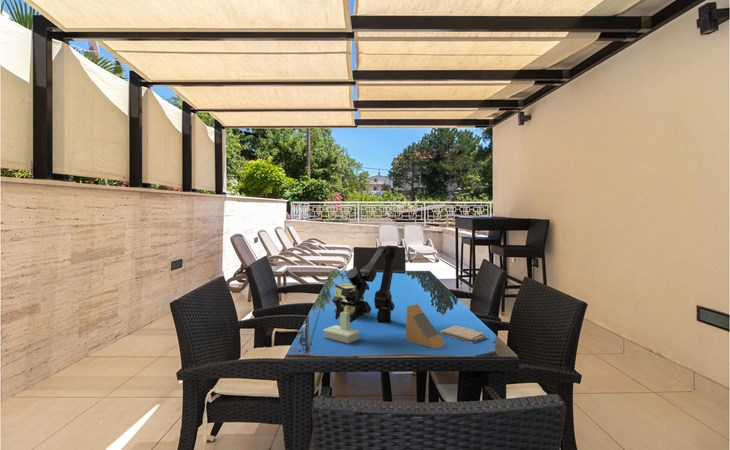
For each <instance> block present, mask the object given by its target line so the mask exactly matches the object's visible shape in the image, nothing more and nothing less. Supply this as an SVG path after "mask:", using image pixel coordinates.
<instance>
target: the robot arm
mask: <svg viewBox="0 0 730 450" xmlns="http://www.w3.org/2000/svg"><path fill="white" fill-rule="evenodd" d="M400 254H401V249H400V247H399V246H398V245H389V244H387V245H379V246H378V247H377V250H376V251H375V253H374V255H373V256H372V257H371V259H370V261H369V262H368V263H367V264H365V265H364V266H363V267H362V268H360V270H359V267H357V266H353V267H352V268H350V269H349V270H348V271H347V272H346V273H345V277H346V278H347V280H348V281H349V283H351V284H352V285H353V286H354V287H353V289H347V288H343V289H342V292H341V295H343V296H345V299H346V301H344V300H343V299H342V297H337V296H335V295H334V296H333V297H332V299H331V302H332V303H333V304H334V307H335V306H336V312H335V316H334V317H335V320H338V319H340V313H341V312H343V311H344V307H345V305H346V306H351V307H355V311H354V313H353V315H352V317H350V324H351V323H353V322H354V321H356V320H357V319H358V318H360V317H362V315H363V316H364V315H366V314H368V315H369V314H370V313H371V312H372V306H370V303H369V302H368V301H365V293H366V291H367V290H368V291H369V290H370V285H369V283H373V282H374V280H375V279H376V276H377V270H378V268H379V267H380V265H381V264H382V262H383V260H384V266H383V272H382V277H381V282H380V288H379V290H376V291H375V292H374V298H373V299H374V301H373V303H374V307H375V309H376V310H377V311H376V317H377V319H376V320H377V323H389V324H390V323H391V322H392V317H391V315H392V311H394V310H395V306H396V305H395V304H394V302H393V301H392V300H393V299H392V298H393V297H392V294H391V285H392V279H393V275H394V267H395V264H396V262H397V261H398V260H399V257H400ZM367 282H368V283H367ZM363 295H364V297H363ZM363 299H364V301H361V300H363Z"/></svg>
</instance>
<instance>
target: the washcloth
mask: <svg viewBox="0 0 730 450" xmlns="http://www.w3.org/2000/svg"><path fill="white" fill-rule="evenodd" d="M441 334H442V336H445V335H446V337H448V336H449V338H452V337H453V339H455V338H456V340H459V339H460V341H463V340H464V342H466V341H467V343H470V344H473V342H474V343H478V342H480V341H482V340H481V339H483V340H484V338H485V339H486V338H487V335H486V334H485V333H484V332H480V331H478V330H476V329H473V328H468V327H465V326H459V325H452V326H449V327H448V328H444V329H442V330H440V331H439V335H441ZM479 340H480V341H479ZM477 341H478V342H477Z"/></svg>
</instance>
